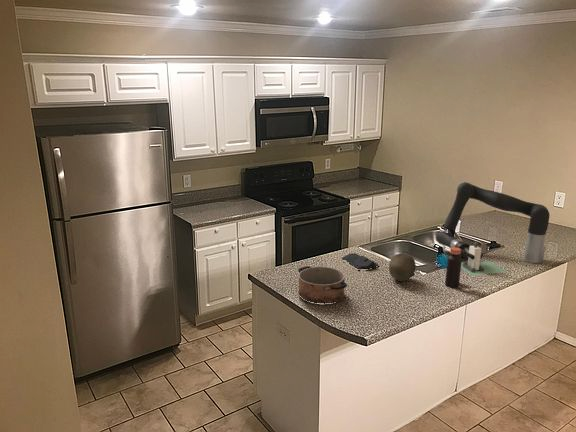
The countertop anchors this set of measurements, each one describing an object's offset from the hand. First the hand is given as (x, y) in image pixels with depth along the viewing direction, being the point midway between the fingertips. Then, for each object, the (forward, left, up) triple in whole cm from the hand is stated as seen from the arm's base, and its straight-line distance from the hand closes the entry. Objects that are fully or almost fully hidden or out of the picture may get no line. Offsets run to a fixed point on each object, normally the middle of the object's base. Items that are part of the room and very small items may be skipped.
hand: (477, 257), depth 248 cm
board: (-5, -3, -9) cm, 11 cm away
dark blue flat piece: (+58, -27, -10) cm, 65 cm away
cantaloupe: (+45, +1, -9) cm, 46 cm away
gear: (+13, -10, -9) cm, 19 cm away
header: (0, -4, -8) cm, 9 cm away
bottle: (+22, +12, -9) cm, 27 cm away
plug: (0, -3, -7) cm, 8 cm away
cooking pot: (+91, +9, -9) cm, 92 cm away
